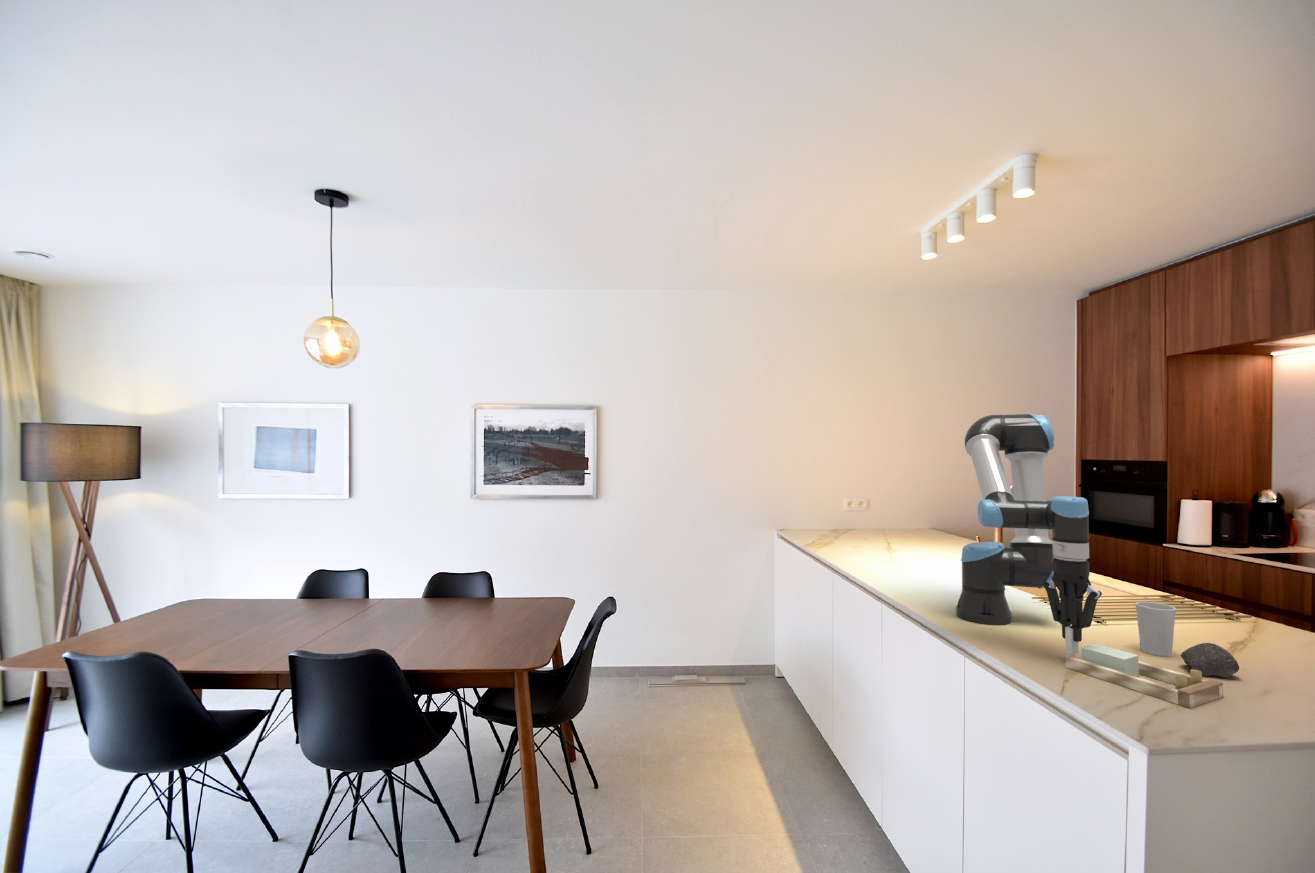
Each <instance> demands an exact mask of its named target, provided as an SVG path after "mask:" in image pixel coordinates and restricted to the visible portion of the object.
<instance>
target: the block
mask: <svg viewBox="0 0 1315 873" xmlns="http://www.w3.org/2000/svg"><path fill="white" fill-rule="evenodd" d="M1080 655H1081V656H1080V659H1081V660H1084V661H1088V662H1091V663H1094V664H1097V665H1100V666H1104V667H1107V668H1110V669H1113V670H1117V671H1120V672H1123V673H1126V674H1129V675H1133V676H1136V677H1139V675H1140V674H1139V664H1138V661H1139V654H1134V653H1131V652H1126V651H1124V650H1121V649H1120V650H1119V649H1116V648H1112V647H1108V646H1104V645H1102V644H1101V645H1100V644H1098V643H1093V644H1089V645H1085V646H1081V647H1080Z"/></svg>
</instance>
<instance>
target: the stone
mask: <svg viewBox="0 0 1315 873" xmlns="http://www.w3.org/2000/svg"><path fill="white" fill-rule="evenodd" d="M1179 656H1180V657H1181V658H1182V661H1183V662H1184V664H1186V665H1188V666H1190V668H1191V669H1194V670H1199V671H1201V672H1202V677H1205V676H1216V677H1220V678H1223V679H1227V678H1229V677H1231V676H1233V675H1234V674H1236V673H1238V672H1239V670H1240V666H1239V663H1238V661H1237V660H1236V659H1235V657H1234V656H1233V655H1232V654H1231V653H1230V652H1229V651H1228V650H1227V649H1225V648H1223V647H1221V646H1219V645H1218V644H1216V643H1212V642H1203V643H1198V644H1196V645H1193V646H1190V647H1188V648H1186V649H1185V650H1184V651H1182V652H1181V653H1180V655H1179Z"/></svg>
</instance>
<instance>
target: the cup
mask: <svg viewBox="0 0 1315 873" xmlns="http://www.w3.org/2000/svg"><path fill="white" fill-rule="evenodd" d="M1135 609H1136V610H1135V611H1136V616H1137V617H1136V618H1137V626H1138V627H1137V628H1138V638H1139V650H1140V652H1142V653H1146V654H1147V655H1148V654H1149V655H1153V656H1157V657H1167V658H1168V657H1172V656H1173V643H1174V632H1175V621H1176V613H1177V612H1176V611H1177V609H1176V607H1175V606H1173V605H1169V604H1165V603H1159V602H1151V601H1137V602H1135Z"/></svg>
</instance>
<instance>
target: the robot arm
mask: <svg viewBox="0 0 1315 873" xmlns="http://www.w3.org/2000/svg"><path fill="white" fill-rule="evenodd" d="M1054 433H1055V432H1054V429H1053V426H1052V422H1051V421H1050V420H1049V418H1048V417H1047V416H1046V415H1044V414H1032V413H1025V414H1022V413H1021V414H1018V413H1017V414H990V415H986V416H982V417H980V418H979V419H978V420H976V421H974V422H973V423H972V424H971V426H970V427H969V428H968V429H967V431H966V434H965V437H964V448H965V451H966V453H967V455H968V456H970V458H971V460H972V464H973V467H974V470H975V474H976V479H977V481H978V486H979V488H980V493H981V496H982V499H981V500H979V502H978V504H977V516H978V521H979V522H978V523H979V524H980V525H981V526H983V527H987V528H988V527H989V528H995V529H1001V528H1003V529H1014V534H1015V535H1014V538H1013V539H1012V540H1011V541H1009V545H1010V547H1006V546H1005V545H1004V543H1002V542H1000V541H999V542H998V541H980V542H979V541H978V542H977V541H976V542H971V543H967V544H965V545H964V546H963V547H962V549H961V559H960V561H961V582H962V583H961V593H960V596H959V599H958V601H957V605H956V608H955V613H956V614H955V615H956V616H957V617H958V618H960V619H961V620H965V621H969V622H973V623H978V624H984V625H1008V624H1010V623H1012V621H1013V619H1012V611H1011V610H1010V606H1009V603H1008V601H1007V598H1006V594H1005V589H1006V588H1005V587H1007V586H1008V587H1019V588H1035V589H1039V590H1040V589H1045V592H1046V593H1047V594H1046V595H1047V598H1048V602H1049V606H1050V610H1051V615H1052V619H1053V621H1054V622H1057V623H1060V625H1061V636H1062V638H1063V639H1065V641H1064V642H1065V654H1067V655H1069V656H1073V655H1078V654H1080V650H1079V642H1082V640H1083V637H1082V636H1083V629H1085V628H1086V629H1087V628H1090V627H1091V626H1092V622H1093V618H1094V614H1095V610H1096V607H1097V603H1098V600H1099V598H1101V596H1102V595H1103V592H1102V591H1101V590H1096V589H1095V588H1094V587H1092V583H1091V581H1090V578H1089V577H1090V562H1089V560H1088V559H1090V536H1089V535H1090V531H1089V530H1090V529H1089V528H1090V527H1089V526H1090V523H1089V521H1090V520H1089V519H1090V518H1089V515H1090V511H1089V510H1090V509H1089V504H1088V503H1089V502H1088V499H1086V498H1085V497H1081V496H1080V497H1079V496H1066V495H1065V496H1063V495H1061V496H1057V495H1056V496H1054V497H1053V498H1052V499H1051V500H1046V490H1045V489H1046V488H1045V478H1044V477H1045V475H1044V464H1043V463H1044V462H1043V461H1044V460H1045V459H1046V458H1047V457H1049V452H1050V451H1052V450H1053V449H1054V445H1055V434H1054ZM999 451H1004V457H1005V459H1007V460H1008V461H1009V462H1010V471H1011V472H1010V473H1011V484H1010V482H1009V479H1008V475H1007V473H1006V470H1005V467H1004V464H1003V461H1002V458H1001V455H1000V452H999ZM1049 530H1051V532H1052V533H1051V534H1052V535H1051V536H1052V537H1051V538H1052V540H1051V539H1050V538H1049ZM1085 594H1086V598H1085V601H1084V595H1085ZM1083 601H1084V605H1083Z"/></svg>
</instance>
